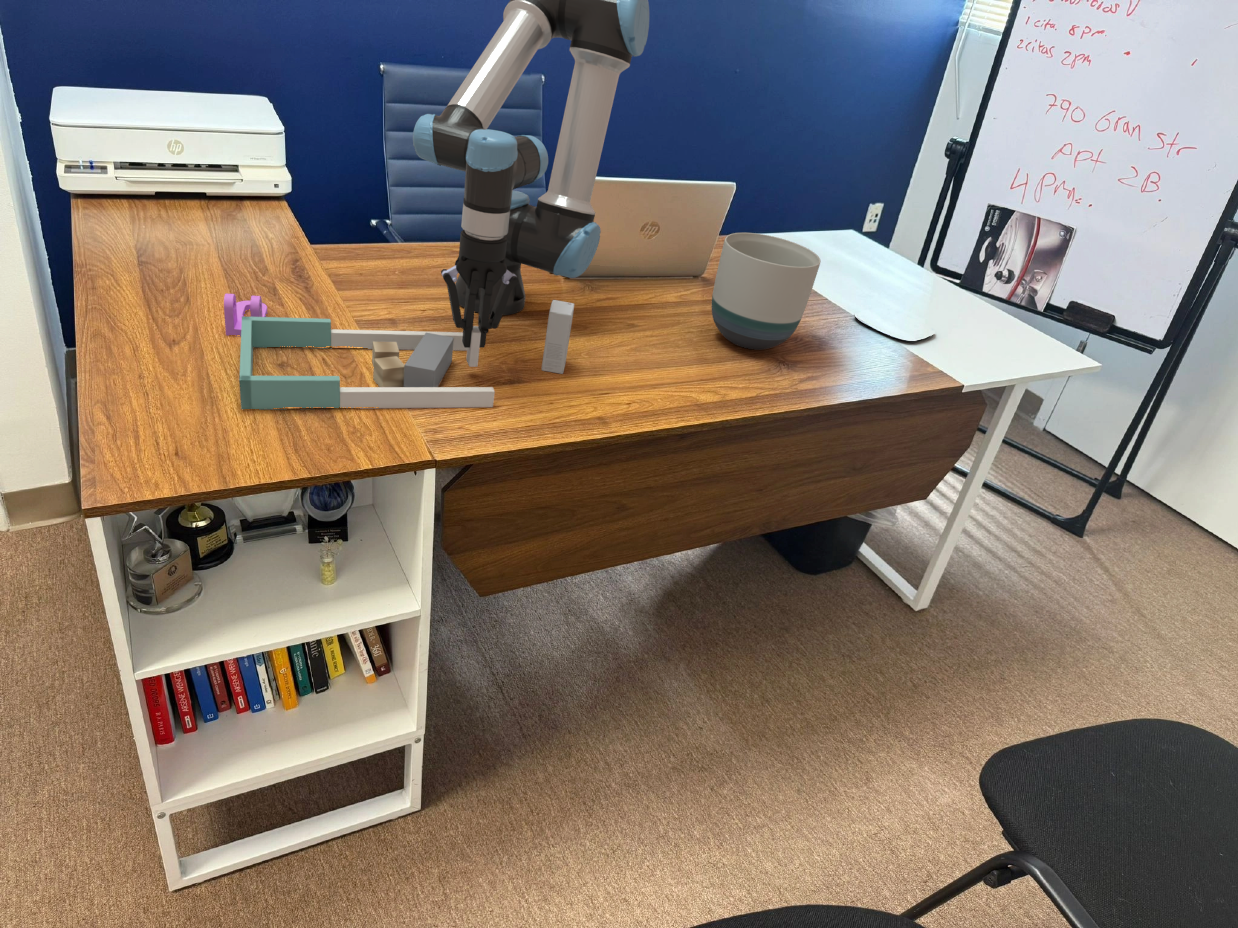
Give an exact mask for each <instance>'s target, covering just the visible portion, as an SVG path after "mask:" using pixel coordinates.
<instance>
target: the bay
mask: <svg viewBox="0 0 1238 928" xmlns="http://www.w3.org/2000/svg"><path fill="white" fill-rule="evenodd" d="M331 329H332V320H331V318H317V317H315V318H313V317H310V318H309V317H308V318H307V317H279V316H278V317H277V316H276V317H275V316H274V317H273V316H266V317H251V316H242V327H241V336H240V354H239V355H240V358H239V376H238V377H239V378H238V379H239V380H238V381H239V394H240V396H239V397H240V410H242V409H243V410H242V411H244V409H259V410H274V409H273V408H283V407H284V408H285V407H302V408H306V407H309V408H310V407H311V408H313V407H321V408H322V407H323V408H326V407H334V408H339V407H340V387H341V378H340V376H339V375H253V373H254V372H253V369H254V368H253V365H254V364H253V363H254V348H267V347H280V346H281V347H282V346H283V347H284V346H285V347H287V346H288V347H289V346H290V347H291V346H293V347H295V346H296V347H306V346H307V347H308V346H312V347H313V346H314V347H326V346H331Z"/></svg>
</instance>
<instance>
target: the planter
mask: <svg viewBox="0 0 1238 928" xmlns="http://www.w3.org/2000/svg"><path fill="white" fill-rule="evenodd" d="M821 263H822V262H821V257H820V256H819V255H818V254H817V253H815V251H813V250H811V249H810V248H807V247H805V246H803V245H802V244H799V243H797V242H794V241H790V240H788V239H786V238H785V239H784V238H781V237H777V236H773V235H768V234H763V233H756V232H755V233H754V232H735V233H734V232H733V233H731V234H728V235H726V237H725V238H724V241H723V245H722V250H721V252H720V257H719V261H718V266H717V271H716V274H715V280H714V285H713V289H712V290H713V291H712V296H711V315H712V320H713V322H714V324H715V326H716V328H717V330H718V331H719V333H720V334H721V335H722V336H723V337H724V338H725V339H727V340H728V341H729V342H730V343H732V344H734V345H736V346H738V347H741V348H743V347H744V349H747V348H748V350H753V349H754V350H756V351H758V350H759V351H761V350H767V349H771V348H775V347H777V346H779V345H782V344H783V343H784V342H786V341H787V340H789V339H790V337H791V336H792V335H793V334H794V332H795V331H796V330H797V328H798V327H799V324H800V322H801V320H802V318H803V316H804V313H805V311H806V307H807V305H808V302H809V299H810V296H811V293H812V291H813V287H814V284H815V281H816V277H817V275H818V271H819V269H820V265H821Z"/></svg>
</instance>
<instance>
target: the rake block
mask: <svg viewBox="0 0 1238 928" xmlns="http://www.w3.org/2000/svg"><path fill="white" fill-rule="evenodd" d="M453 341H454V338H453V337H448V336H442V335H437V334H432V333H425V335H424V336H423V338H422V339H421V341H420V342H419V344H418V345H417V347H416V348H415V350H413V351H412V353H411V355H410V356H409V358H408V359H407V361H406V362H405V363H404V365H405V366H404V387H439V386H440V383H441V382H442V380H443V378H444V377H445V375H446V373H447V371H448V369H449V368H450V365H451V364H452V362H453V353H454V352H453V351H454V350H453Z"/></svg>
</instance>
